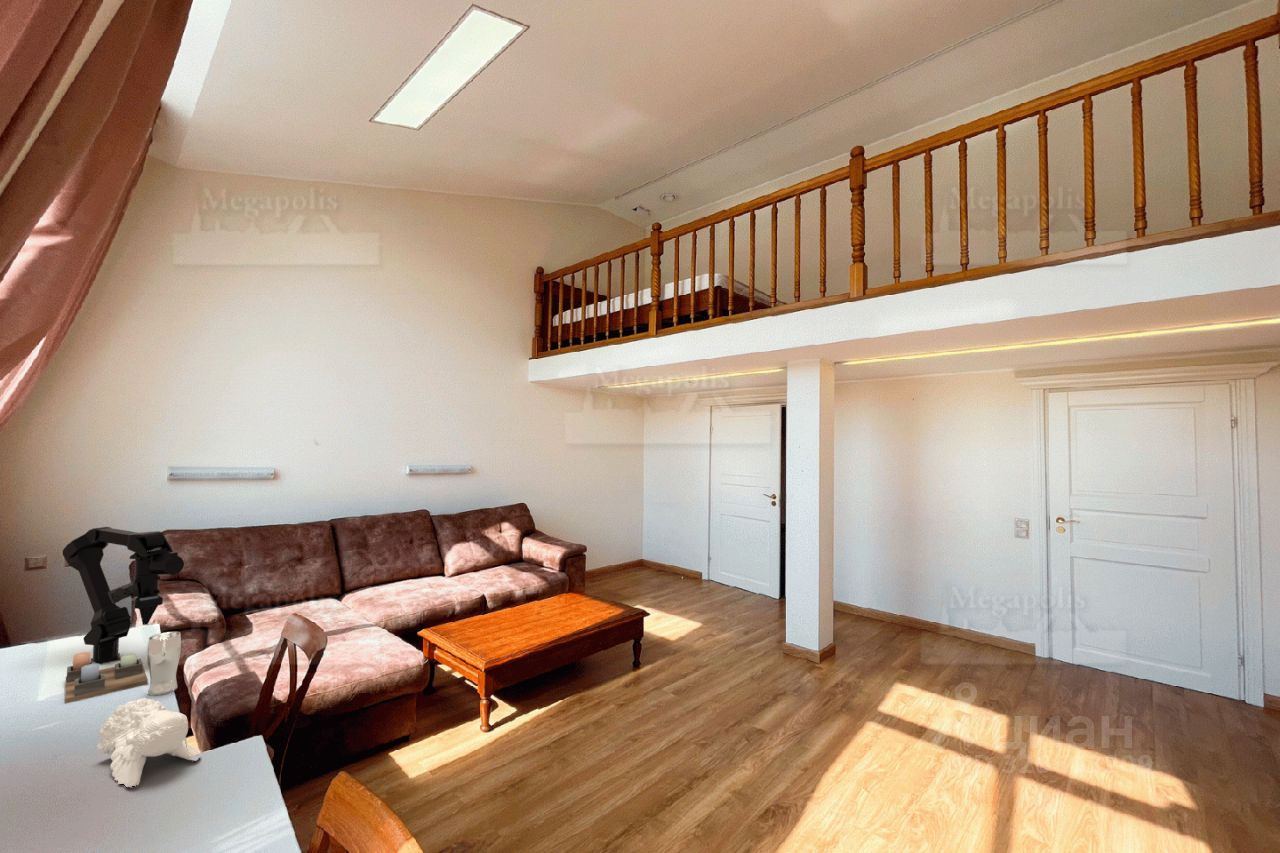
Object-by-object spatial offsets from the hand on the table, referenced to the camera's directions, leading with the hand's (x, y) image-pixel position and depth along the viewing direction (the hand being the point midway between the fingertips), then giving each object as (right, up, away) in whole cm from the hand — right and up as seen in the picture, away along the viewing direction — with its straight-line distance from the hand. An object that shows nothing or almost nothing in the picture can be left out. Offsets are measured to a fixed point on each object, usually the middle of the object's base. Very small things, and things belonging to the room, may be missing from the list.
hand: (145, 624), depth 167 cm
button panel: (+1, -12, -13) cm, 18 cm away
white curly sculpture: (+48, -11, -51) cm, 71 cm away
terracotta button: (-7, -9, -12) cm, 17 cm away
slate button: (+4, -8, -20) cm, 22 cm away
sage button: (+4, -10, -10) cm, 15 cm away
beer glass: (+22, -12, -18) cm, 31 cm away
